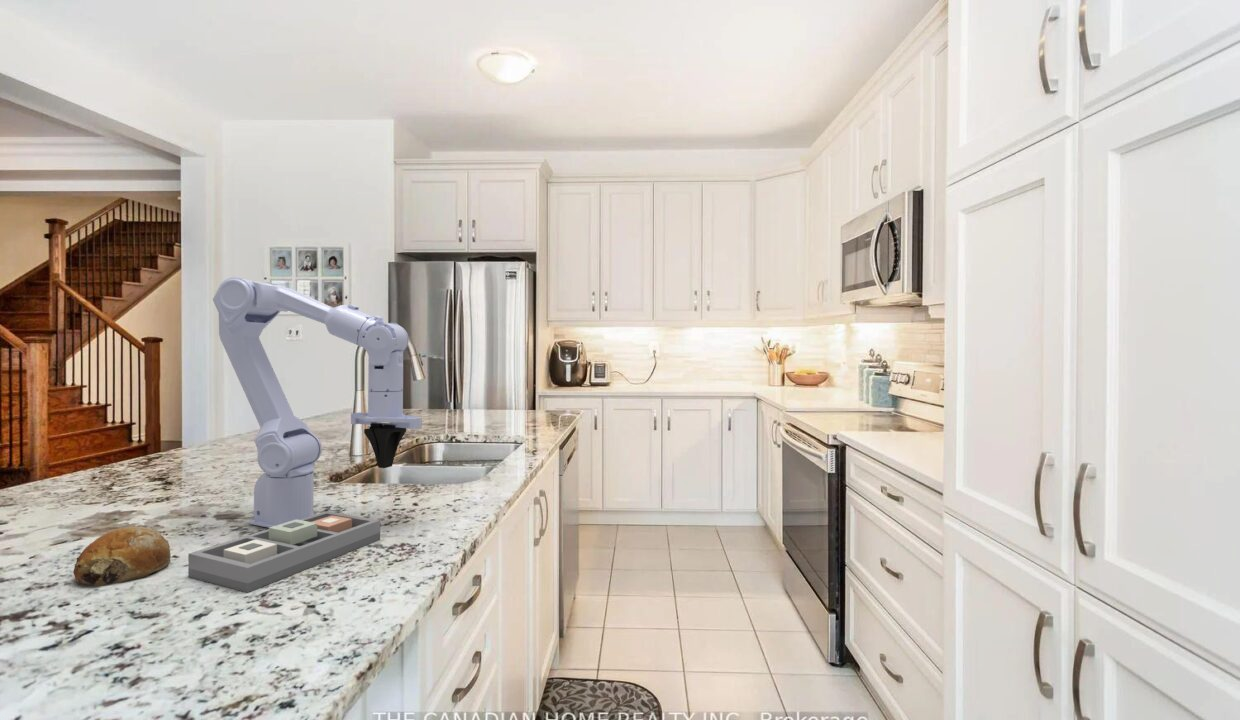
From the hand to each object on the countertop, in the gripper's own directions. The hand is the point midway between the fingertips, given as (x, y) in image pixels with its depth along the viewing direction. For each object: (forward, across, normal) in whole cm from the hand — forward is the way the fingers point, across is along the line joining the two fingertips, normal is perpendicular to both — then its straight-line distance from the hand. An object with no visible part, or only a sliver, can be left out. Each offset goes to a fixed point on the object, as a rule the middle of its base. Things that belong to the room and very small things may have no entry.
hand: (385, 466), depth 100 cm
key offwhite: (+9, -1, -23) cm, 25 cm away
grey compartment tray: (+10, -1, -17) cm, 20 cm away
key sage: (+8, -1, -17) cm, 19 cm away
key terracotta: (+9, -1, -11) cm, 14 cm away
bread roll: (+11, -17, -30) cm, 36 cm away
